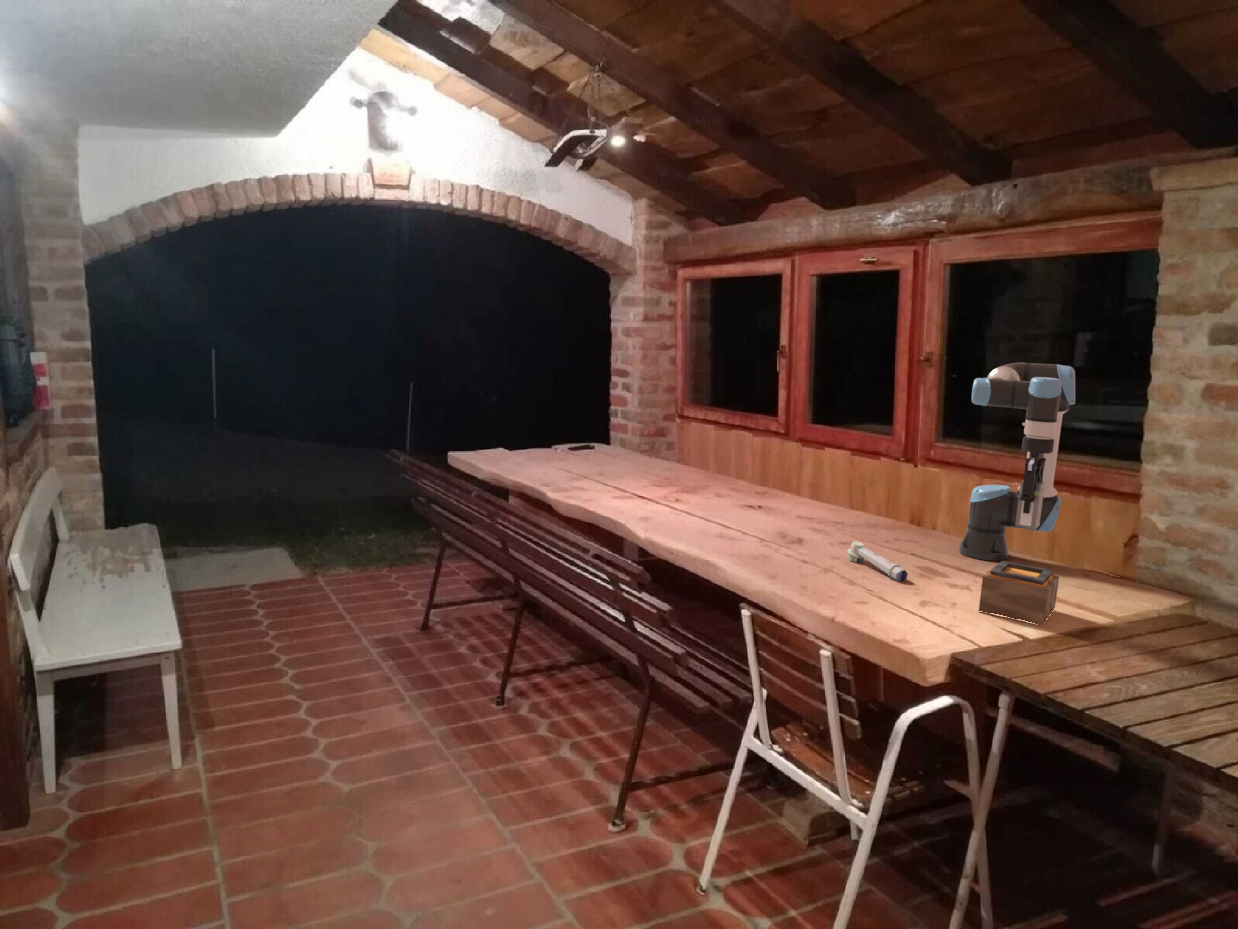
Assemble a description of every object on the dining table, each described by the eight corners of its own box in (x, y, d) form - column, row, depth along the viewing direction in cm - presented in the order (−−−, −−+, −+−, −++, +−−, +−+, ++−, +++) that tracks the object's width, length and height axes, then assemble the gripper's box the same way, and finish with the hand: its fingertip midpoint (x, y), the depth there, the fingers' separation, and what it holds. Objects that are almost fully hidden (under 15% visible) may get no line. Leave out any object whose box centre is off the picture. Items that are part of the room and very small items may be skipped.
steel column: (1019, 522, 247) (1024, 478, 244) (1039, 525, 244) (1045, 481, 241) (1014, 525, 242) (1020, 481, 240) (1035, 529, 240) (1041, 484, 237)
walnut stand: (993, 597, 258) (998, 558, 256) (1054, 610, 249) (1060, 570, 247) (978, 612, 246) (983, 571, 243) (1042, 626, 237) (1048, 583, 234)
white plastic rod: (896, 570, 268) (846, 537, 289) (892, 591, 270) (842, 556, 291) (910, 569, 270) (859, 536, 291) (906, 589, 272) (856, 555, 293)
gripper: (1031, 431, 248) (1020, 514, 252) (1015, 438, 233) (1004, 526, 238) (1061, 434, 244) (1049, 519, 248) (1047, 442, 229) (1035, 532, 234)
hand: (1027, 522), depth 243 cm, fingers closed on steel column, 5 cm apart
